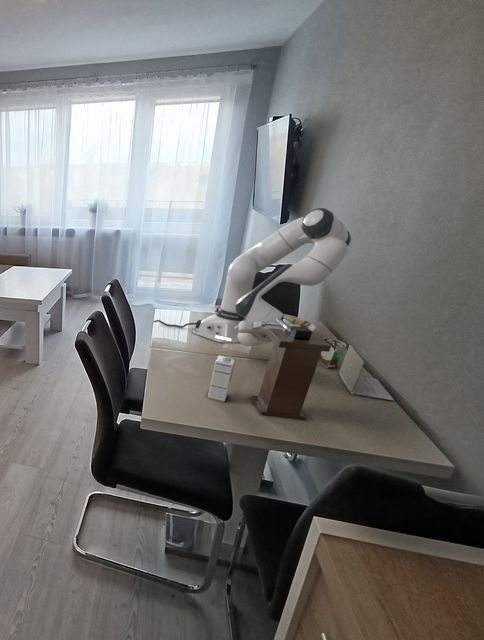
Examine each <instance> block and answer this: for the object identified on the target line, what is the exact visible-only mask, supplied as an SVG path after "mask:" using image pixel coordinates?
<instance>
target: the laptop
mask: <svg viewBox="0 0 484 640" xmlns="http://www.w3.org/2000/svg"><path fill="white" fill-rule="evenodd" d="M364 365H365V360H363V358H362V357H361V355H359V354H358V352H357V351H356V350H355V348H354V347H353V346H352V344H349V345H348V347H347V349H346V353H345V356H344V359H343V361H342V364H341V366H340V369H339V371H338V375H339V376H340V378H341V379H342V381H343V383H344V384H345V386H346V387H347V389H348V390H349V392H350V394H352V395H355V396H356V395H357V396H360V397H369V398H376V399H381V400H388V401H395V400H394V398H393V397H392V396H391V394H390V393H389V391H388V390H387V389H386V388H385V387H384V386H383V384H382V383H381V382H380V380H379V379H378V378H375V377H369V376H363V375H361V373H362V370H363V367H364Z"/></svg>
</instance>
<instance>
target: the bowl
mask: <svg viewBox="0 0 484 640" xmlns="http://www.w3.org/2000/svg"><path fill="white" fill-rule="evenodd" d="M283 315H284V319H287V320H288V321H289V322H291V323H292V324H294V325H300V326H301V327H307V328H308V329H310V330H311V331H312V332H314V333H315V332H316V329H317V327H316V325H315V324H314V323H312V322H311V321H308V320H307V319H304V318H301V317H297V316H295V315H290V314H285V313H283ZM246 321H248V320H247V319H246ZM284 323H285V322H284ZM285 324H286V323H285Z"/></svg>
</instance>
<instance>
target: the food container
mask: <svg viewBox="0 0 484 640" xmlns="http://www.w3.org/2000/svg"><path fill="white" fill-rule="evenodd" d="M322 339H323V340H324V341H326V342H327V343H328V344H330V345H331V348H330V351H329V352H325V351H322V352H321V355H320V358H319V361H318V362H320V364H322V365H323V366H324V367H325V368H326V369H330V370H332V369H333V370H334V369H336V368H337V366H338V364H339V362H340V360H341V358H342V356H343V354H344V353H345V352H347V349H348V347H347V344H346V343H345V342H344V341H341V340H338V339H335V338H332V337H326V336H323V337H322Z"/></svg>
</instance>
